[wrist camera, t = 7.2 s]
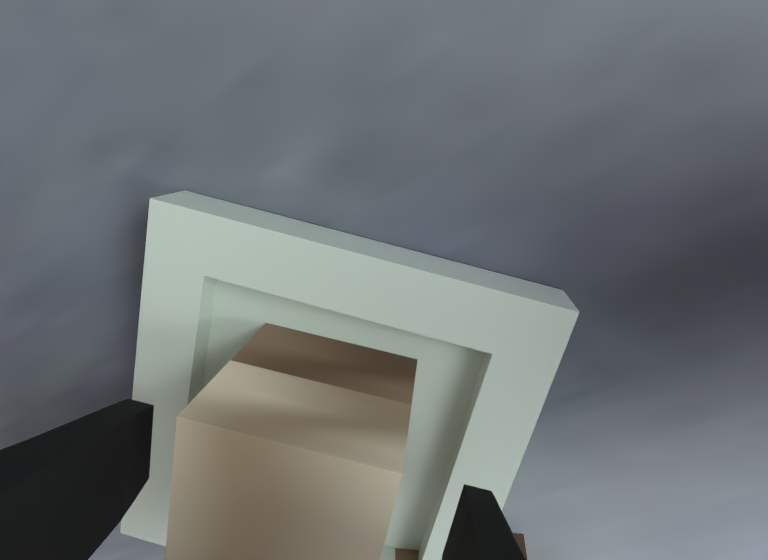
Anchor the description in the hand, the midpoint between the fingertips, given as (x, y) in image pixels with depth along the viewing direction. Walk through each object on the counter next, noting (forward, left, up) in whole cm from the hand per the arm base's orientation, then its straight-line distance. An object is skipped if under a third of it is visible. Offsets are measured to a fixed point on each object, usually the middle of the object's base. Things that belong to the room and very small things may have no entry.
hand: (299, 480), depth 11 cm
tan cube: (0, 0, -2) cm, 2 cm away
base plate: (0, 0, -3) cm, 3 cm away
